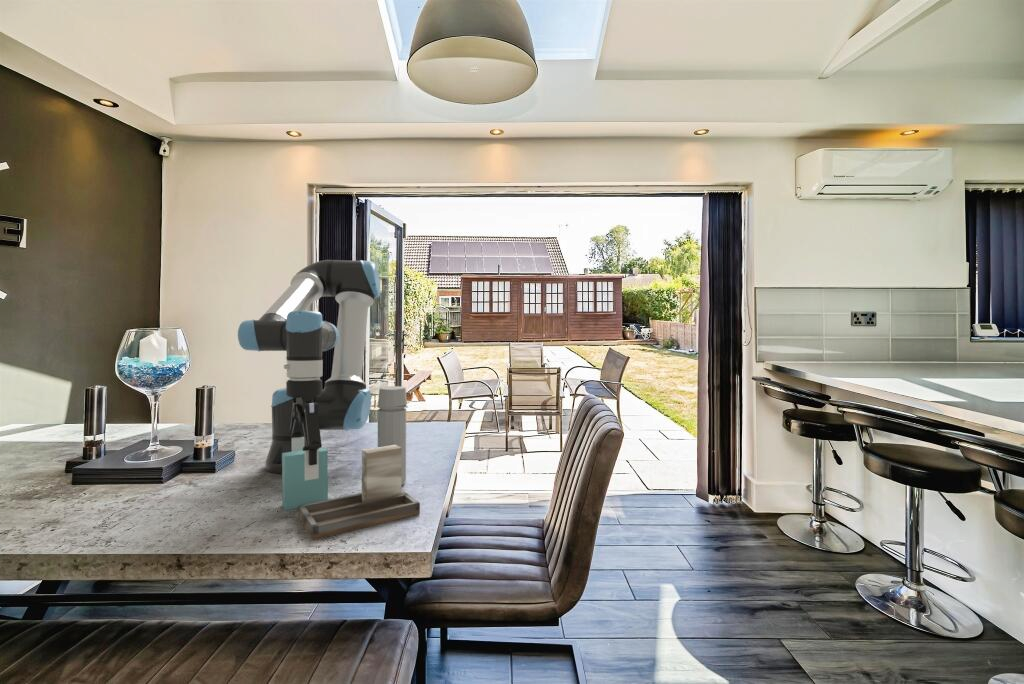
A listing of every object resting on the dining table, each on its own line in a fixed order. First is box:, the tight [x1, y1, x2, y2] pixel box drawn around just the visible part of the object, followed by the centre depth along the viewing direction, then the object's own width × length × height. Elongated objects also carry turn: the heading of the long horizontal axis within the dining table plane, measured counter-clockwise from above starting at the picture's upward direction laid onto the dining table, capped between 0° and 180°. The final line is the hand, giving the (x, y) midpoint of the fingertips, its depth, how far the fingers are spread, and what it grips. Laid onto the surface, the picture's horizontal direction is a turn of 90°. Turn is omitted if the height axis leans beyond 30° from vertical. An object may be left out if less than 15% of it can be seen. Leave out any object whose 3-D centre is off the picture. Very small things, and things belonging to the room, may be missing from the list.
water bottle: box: [376, 385, 409, 486], centre depth 122 cm, size 9×8×25 cm
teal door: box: [281, 447, 329, 511], centre depth 108 cm, size 4×9×12 cm, turn 126°
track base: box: [297, 445, 421, 541], centre depth 101 cm, size 13×22×13 cm, turn 126°
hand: (304, 471), depth 107 cm, fingers open, 13 cm apart
